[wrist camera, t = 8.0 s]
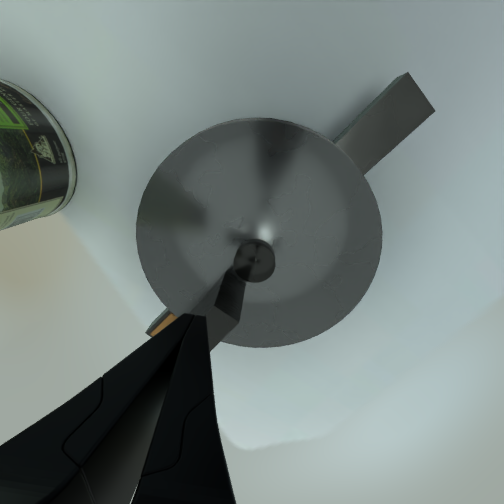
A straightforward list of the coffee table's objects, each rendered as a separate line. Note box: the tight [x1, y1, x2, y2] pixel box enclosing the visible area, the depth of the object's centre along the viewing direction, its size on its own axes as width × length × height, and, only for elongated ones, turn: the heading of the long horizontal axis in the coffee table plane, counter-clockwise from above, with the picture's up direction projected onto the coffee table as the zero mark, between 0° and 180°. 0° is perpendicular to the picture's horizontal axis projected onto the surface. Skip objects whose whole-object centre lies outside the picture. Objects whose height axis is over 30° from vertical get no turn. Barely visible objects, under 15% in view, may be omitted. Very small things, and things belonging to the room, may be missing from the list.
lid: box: [136, 120, 382, 351], centre depth 14 cm, size 19×15×5 cm
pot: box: [146, 72, 435, 337], centre depth 18 cm, size 24×15×5 cm, turn 137°
